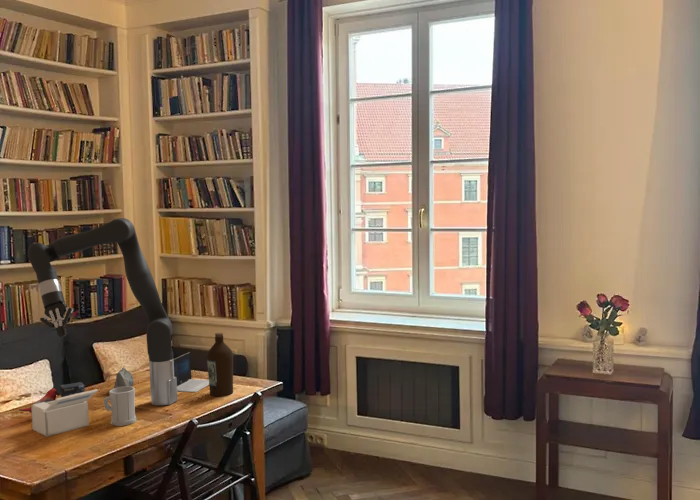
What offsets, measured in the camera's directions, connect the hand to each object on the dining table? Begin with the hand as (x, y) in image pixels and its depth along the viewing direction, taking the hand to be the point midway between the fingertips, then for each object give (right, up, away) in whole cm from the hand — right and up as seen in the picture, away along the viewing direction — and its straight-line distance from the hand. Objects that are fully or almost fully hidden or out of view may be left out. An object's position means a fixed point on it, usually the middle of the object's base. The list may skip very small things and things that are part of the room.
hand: (63, 336), depth 251 cm
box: (+2, -30, +5) cm, 30 cm away
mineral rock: (+12, -27, +34) cm, 45 cm away
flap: (+9, -21, -18) cm, 30 cm away
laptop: (+41, -27, +37) cm, 61 cm away
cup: (+25, -30, -10) cm, 41 cm away
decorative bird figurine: (-7, -30, -4) cm, 31 cm away
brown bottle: (+55, -27, +24) cm, 66 cm away
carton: (+5, -31, -14) cm, 34 cm away
